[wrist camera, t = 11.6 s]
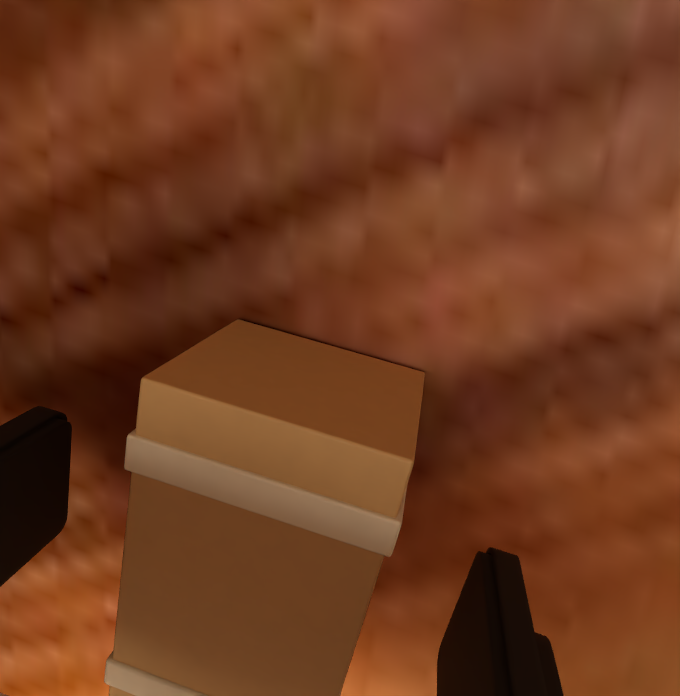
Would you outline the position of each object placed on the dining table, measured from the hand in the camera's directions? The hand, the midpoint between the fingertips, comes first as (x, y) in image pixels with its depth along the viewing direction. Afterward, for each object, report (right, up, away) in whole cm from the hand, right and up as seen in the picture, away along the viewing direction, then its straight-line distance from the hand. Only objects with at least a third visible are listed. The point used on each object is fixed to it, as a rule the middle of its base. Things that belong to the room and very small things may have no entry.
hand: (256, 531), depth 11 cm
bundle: (+1, 0, +2) cm, 2 cm away
